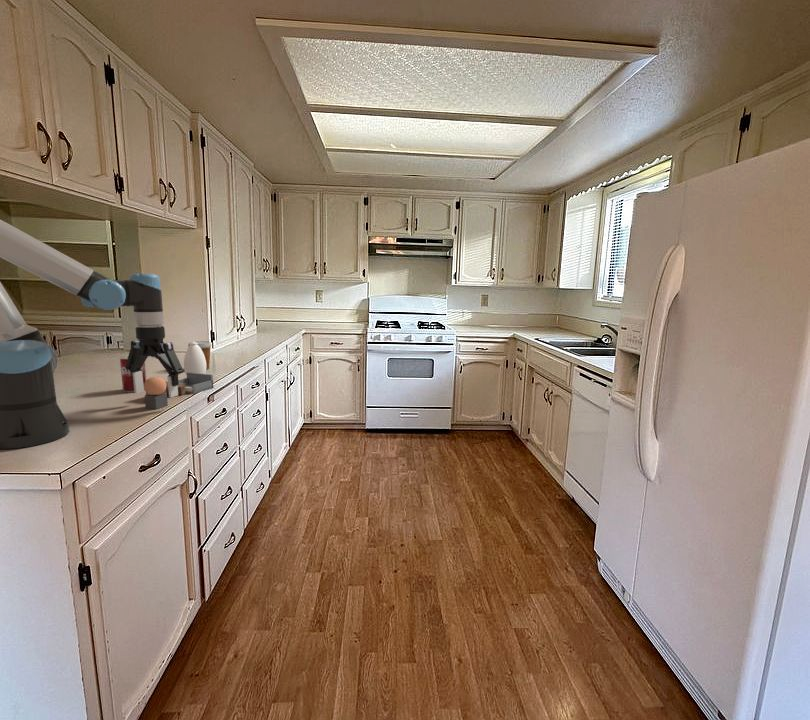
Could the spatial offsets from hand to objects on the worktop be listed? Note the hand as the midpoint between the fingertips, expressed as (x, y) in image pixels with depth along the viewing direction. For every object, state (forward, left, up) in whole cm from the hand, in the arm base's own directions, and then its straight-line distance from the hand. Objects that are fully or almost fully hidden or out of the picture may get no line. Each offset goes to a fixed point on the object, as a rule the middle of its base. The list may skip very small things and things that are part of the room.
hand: (156, 394), depth 130 cm
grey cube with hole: (0, 0, -4) cm, 4 cm away
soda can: (+13, +24, -4) cm, 28 cm away
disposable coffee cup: (+52, +31, -4) cm, 61 cm away
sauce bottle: (+32, +15, -4) cm, 36 cm away
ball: (0, 0, +3) cm, 3 cm away
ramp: (+10, +7, -4) cm, 13 cm away
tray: (+21, +7, -4) cm, 23 cm away
